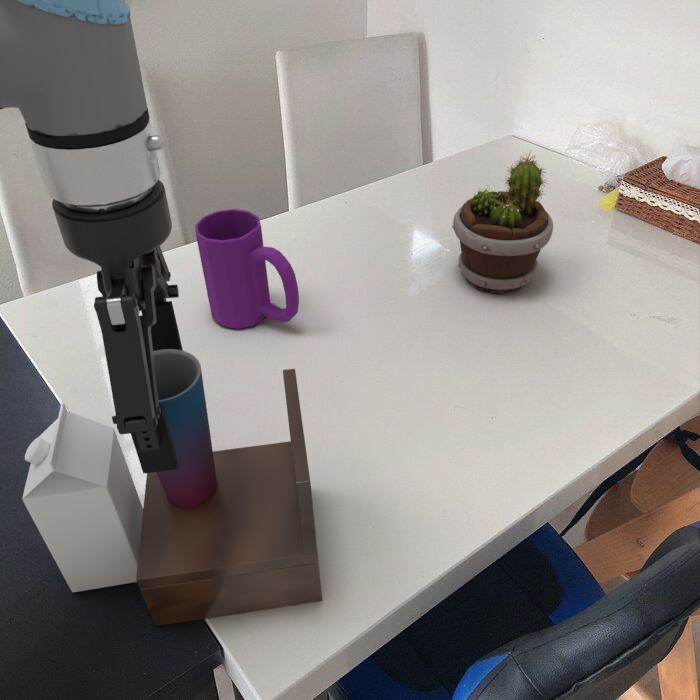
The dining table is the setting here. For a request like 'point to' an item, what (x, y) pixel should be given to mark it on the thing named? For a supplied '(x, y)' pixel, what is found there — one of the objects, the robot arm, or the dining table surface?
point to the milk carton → (84, 502)
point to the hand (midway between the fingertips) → (165, 409)
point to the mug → (242, 270)
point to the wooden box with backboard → (235, 534)
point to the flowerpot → (504, 231)
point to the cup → (185, 428)
